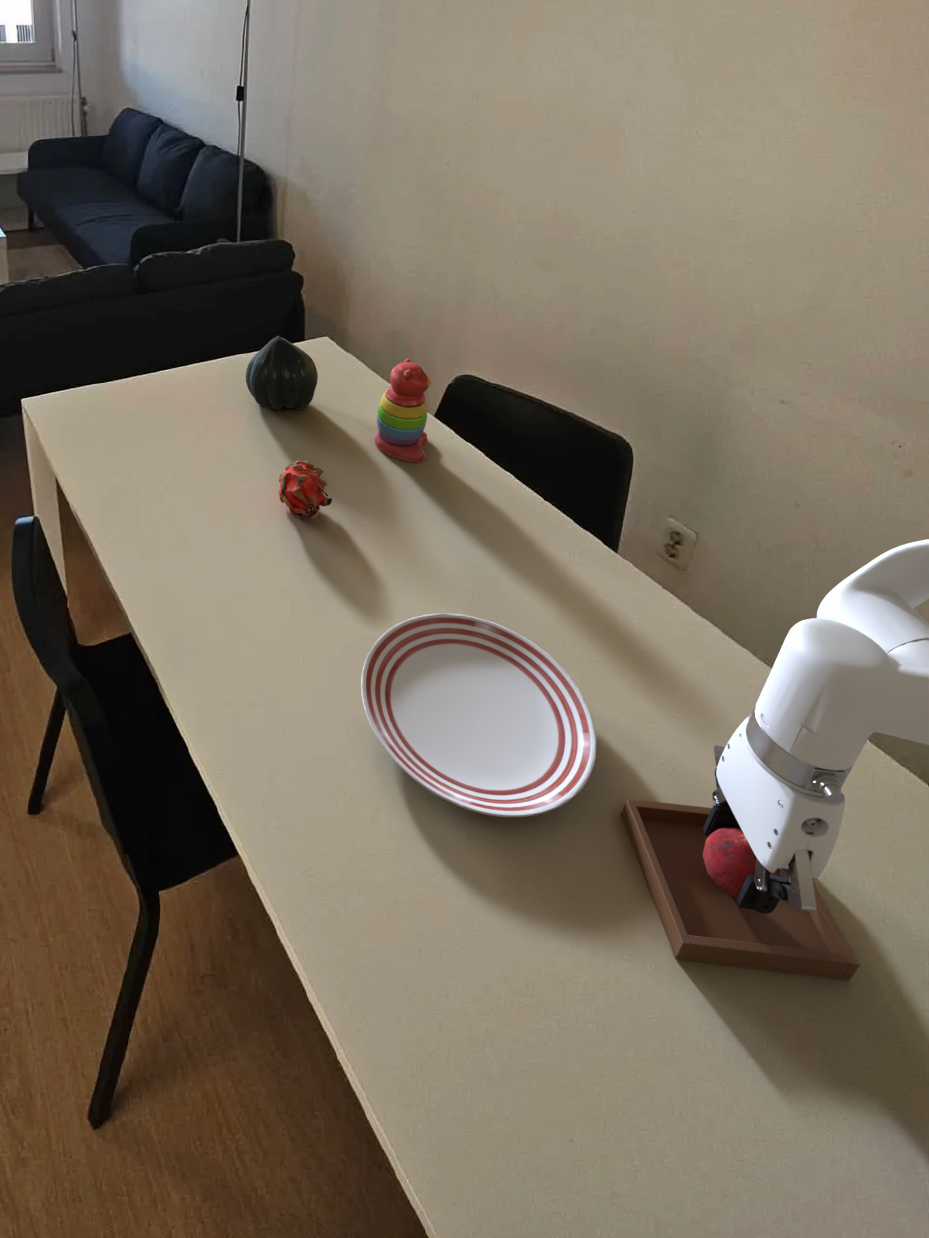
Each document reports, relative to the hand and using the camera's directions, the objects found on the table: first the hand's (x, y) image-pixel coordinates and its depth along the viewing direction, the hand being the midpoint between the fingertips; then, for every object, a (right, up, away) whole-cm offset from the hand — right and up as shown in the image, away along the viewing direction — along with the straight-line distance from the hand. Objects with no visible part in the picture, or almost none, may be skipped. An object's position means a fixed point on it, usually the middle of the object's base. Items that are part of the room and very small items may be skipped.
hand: (736, 868), depth 75 cm
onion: (0, -3, +1) cm, 3 cm away
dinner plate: (-21, +5, +18) cm, 28 cm away
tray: (0, -3, +1) cm, 4 cm away
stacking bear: (-17, +29, +73) cm, 81 cm away
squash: (-40, +36, +87) cm, 102 cm away
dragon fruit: (-38, +21, +55) cm, 70 cm away
